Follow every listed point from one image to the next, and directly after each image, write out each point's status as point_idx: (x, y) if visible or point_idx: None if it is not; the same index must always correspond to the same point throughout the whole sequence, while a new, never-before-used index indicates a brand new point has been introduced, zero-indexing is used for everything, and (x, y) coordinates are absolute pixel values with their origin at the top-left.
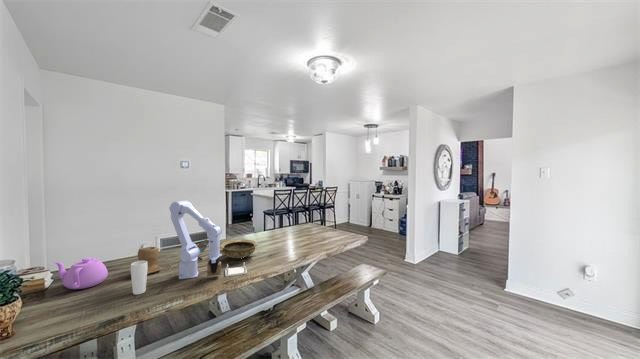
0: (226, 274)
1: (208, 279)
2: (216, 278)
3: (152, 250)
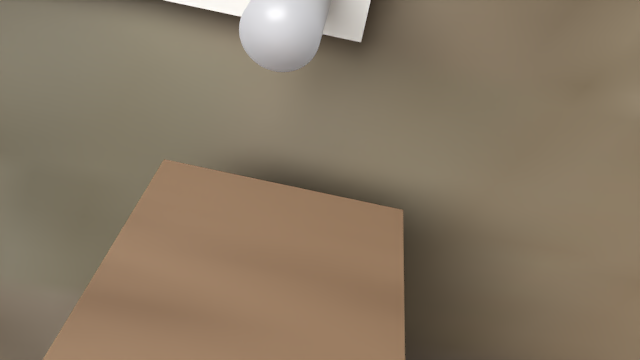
0: (335, 2)
1: None
2: None
3: None
